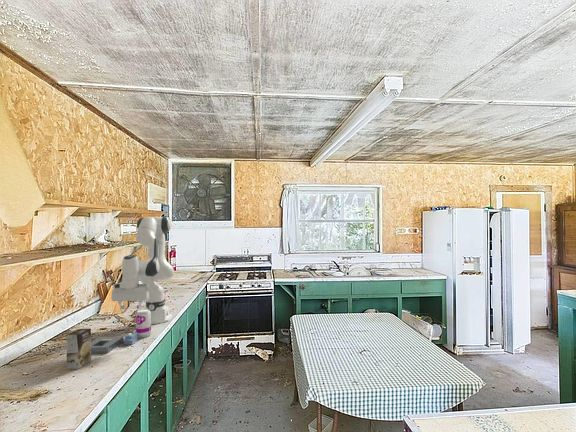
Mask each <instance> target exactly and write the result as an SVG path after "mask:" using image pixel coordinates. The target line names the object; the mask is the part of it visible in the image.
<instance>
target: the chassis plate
mask: <svg viewBox="0 0 576 432" xmlns="http://www.w3.org/2000/svg"><path fill="white" fill-rule="evenodd" d="M124 339H125V338H124V336H99V337H97V338H95V339H93V340H91V354H109V353H110V352H112V351H113V350H114V349H116V348H117V347H119V346H120V345H121V344H123V343H125V341H124Z"/></svg>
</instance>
